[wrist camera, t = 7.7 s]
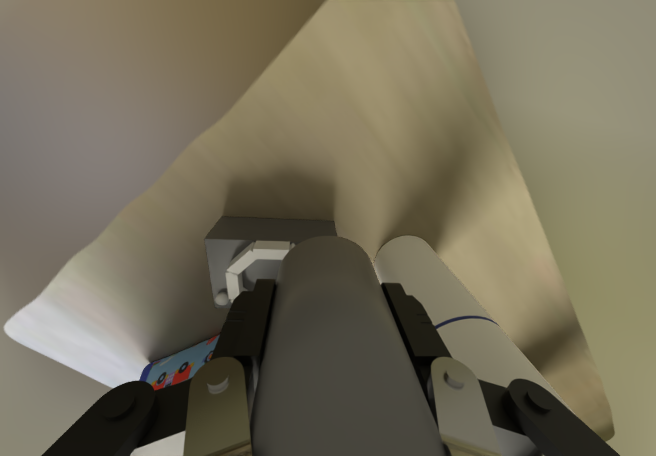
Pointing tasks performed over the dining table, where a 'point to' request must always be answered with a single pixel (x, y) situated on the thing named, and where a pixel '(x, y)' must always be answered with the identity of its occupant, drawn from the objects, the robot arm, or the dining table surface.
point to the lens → (336, 364)
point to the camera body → (253, 251)
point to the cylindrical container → (455, 313)
